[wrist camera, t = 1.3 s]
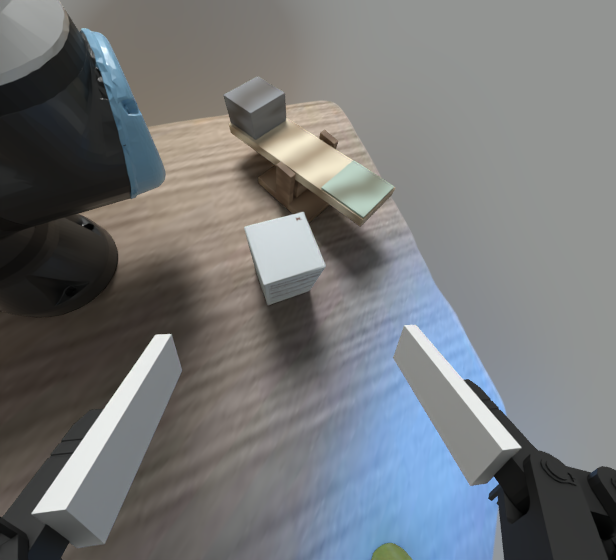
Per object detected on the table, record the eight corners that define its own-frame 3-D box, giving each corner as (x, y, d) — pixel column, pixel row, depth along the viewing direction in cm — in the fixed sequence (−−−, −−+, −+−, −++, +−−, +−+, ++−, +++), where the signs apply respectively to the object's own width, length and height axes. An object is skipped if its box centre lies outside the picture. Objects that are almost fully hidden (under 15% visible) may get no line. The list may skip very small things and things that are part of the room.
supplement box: (253, 264, 36) (242, 223, 24) (295, 252, 38) (305, 209, 26) (266, 307, 34) (261, 286, 22) (310, 292, 36) (328, 266, 24)
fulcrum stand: (258, 183, 40) (254, 145, 33) (299, 153, 44) (304, 112, 36) (306, 225, 39) (313, 197, 32) (344, 191, 43) (359, 158, 35)
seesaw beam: (231, 132, 38) (220, 96, 33) (265, 112, 40) (260, 75, 35) (360, 226, 32) (372, 199, 26) (391, 195, 34) (407, 164, 29)
